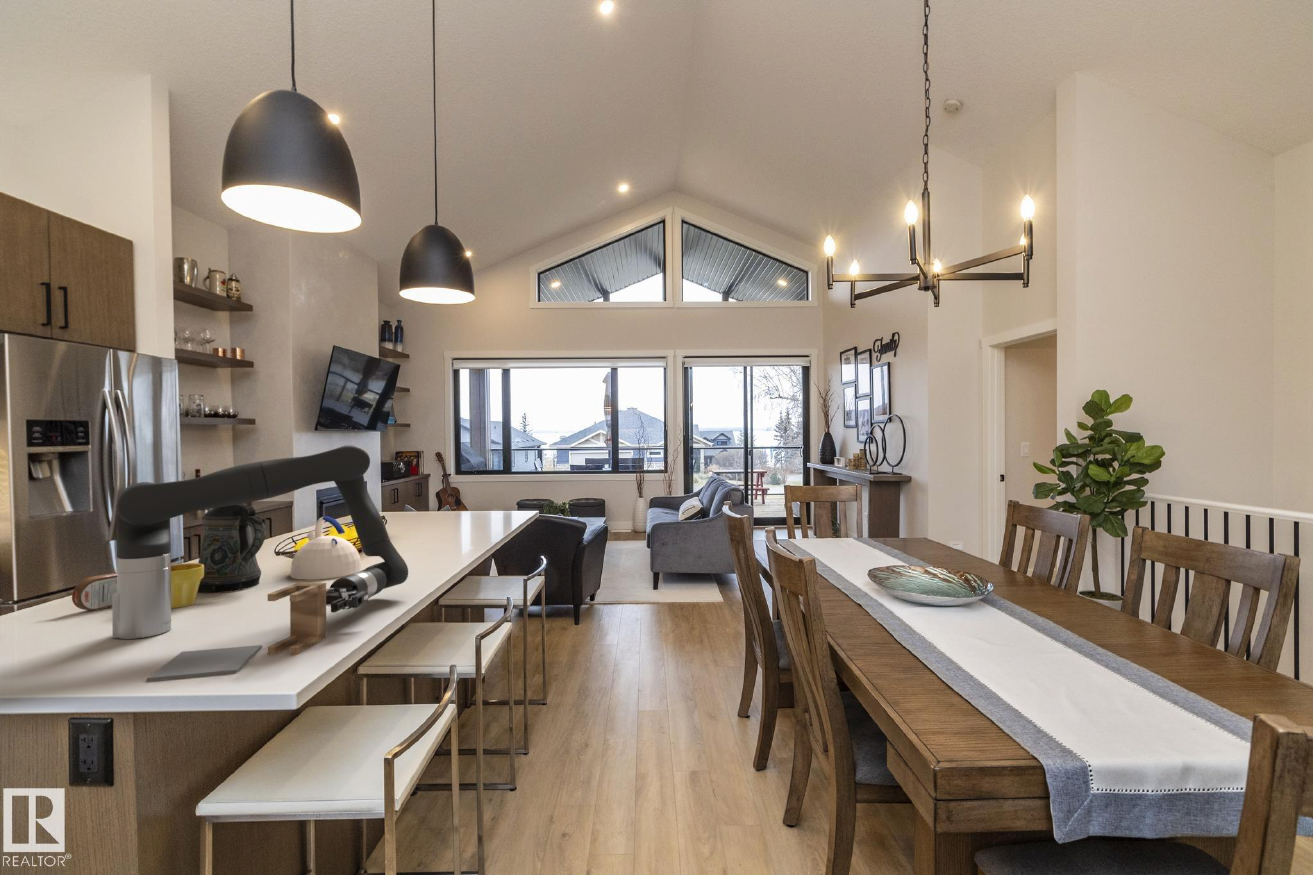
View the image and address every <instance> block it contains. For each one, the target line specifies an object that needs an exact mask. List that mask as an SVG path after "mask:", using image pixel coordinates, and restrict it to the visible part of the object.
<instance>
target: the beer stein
mask: <svg viewBox="0 0 1313 875" xmlns="http://www.w3.org/2000/svg"><path fill="white" fill-rule="evenodd" d="M256 514H257V512H256V510H255V508H254V507H253V506H249V505H244V504H237V505H231V506H225V507H217V508H210V509H209V511H207V512H206V513H204V515H203V516H202V517H201V523H202V524H203V526H204V527H203V528H204V531H203V536H202V542H201V547H200V554H199V558H198V562H197V563H199V564H203V565H204V577H203V578H202V579H201V581H200V584H199V588H198V592H197V593H200V594H218V593H219V592H220V593H228V592H229V593H230V592H236V590H237V591H240V590H246V589H251V588H253V587H256V586H258V585H259V584H260V579H261V575H262V570H261V568H260V566H259V564H258V560H257V556H256V554H257V553H258V552H259V551H260V550H261V549H262V546H264V545H263V544H264V542H265V539H266V537H267V528H266V524H265V523H264V521H263V520H262V518H261V517H260V516H258V515H256ZM252 530H253V533H252Z"/></svg>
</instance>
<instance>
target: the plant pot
mask: <svg viewBox="0 0 1313 875" xmlns="http://www.w3.org/2000/svg"><path fill="white" fill-rule="evenodd" d="M203 577H204V565H203V564H199V563H198V562H195V563H194V562H190V563H189V562H188V563H187V562H186V563H185V562H184V563H175V564H171V609H172V608H173V609H174V608H183V607H188V606H192V605H194V604H195V602H196V600H197V596H198V595H197V594H198V593H199V592H198V588H199V584H200V581H201V579H202V578H203Z"/></svg>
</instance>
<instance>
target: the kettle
mask: <svg viewBox="0 0 1313 875" xmlns="http://www.w3.org/2000/svg"><path fill="white" fill-rule="evenodd" d="M325 522H327V523H329V524H330V525H331V526H333V528H334V529H335V530H336V533H337V534H338V535H342V534H345V533H346V531H345V530H344V527H343V526H342V525H341V524H340V522H338V520H336V519H334V517H331V516H327V515H325V516H322V517H320V518H319V519H317V521H316V523H315V527H314V530H311V531H309V532H308V533H307V535H306V538H307V539H308V541H307V542H306V543H305V544H303V545H302V546H301V547H299V549H298V550H297V552H296V553H294V556H293V558H292V560H291V565H290V566H291V567H290V574H289V576H290V578H292V579H295V580H303V581H304V580H305V581H306V580H307V581H309V580H327V579H328V580H329V579H336V578H337V579H338V578H342V577H344V576H347V575H349V574H352V573H355V572H360V571H362V562H361V561H362V560H361V556H360V554H359V552H358V549H357V548H356V547H355V546H354V545H353V544H352V542H350V541H349V540H347V539H345V538H342V537H339V536H336V535H324V533H323V532H324V531H323V529H324V524H325Z"/></svg>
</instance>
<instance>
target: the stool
mask: <svg viewBox="0 0 1313 875" xmlns="http://www.w3.org/2000/svg"><path fill="white" fill-rule="evenodd" d="M326 589H327V582H309V581H307V582H301V581H299V582H296V583H294V584H291V585H288V586H285V587H283V588H281V589H277V590H275V591H272V592H270V593H267V602H276V601H279V600H281V599H283V598H285V597H288V596H289V603H290V604H289V608H290V610H289V613H290V614H289V617H290V618H289V619H290V620H289V622H290V624H289V626H290V628H289V632H290V633H289V634H290V635H289V636H287V637H285V638H283V639H281V640H280V641H277V642H275V643H273V644H271V645H269V646H267V655H276V654H278V653H279V651H280V652H281V651H284V650H286V649H287V648H289V655H291V656H293V655H295V656H296V655H299V654H300V653H303V652H304V651H307V650H308V649H309V648H311V647H313V646H315V645H317V644H319V643H320V642H322V641H325V640H326V639H327V606H326Z"/></svg>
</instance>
